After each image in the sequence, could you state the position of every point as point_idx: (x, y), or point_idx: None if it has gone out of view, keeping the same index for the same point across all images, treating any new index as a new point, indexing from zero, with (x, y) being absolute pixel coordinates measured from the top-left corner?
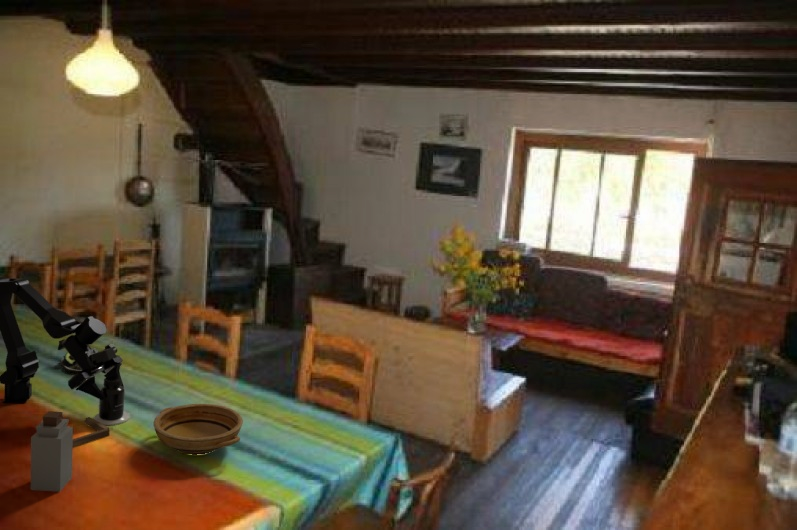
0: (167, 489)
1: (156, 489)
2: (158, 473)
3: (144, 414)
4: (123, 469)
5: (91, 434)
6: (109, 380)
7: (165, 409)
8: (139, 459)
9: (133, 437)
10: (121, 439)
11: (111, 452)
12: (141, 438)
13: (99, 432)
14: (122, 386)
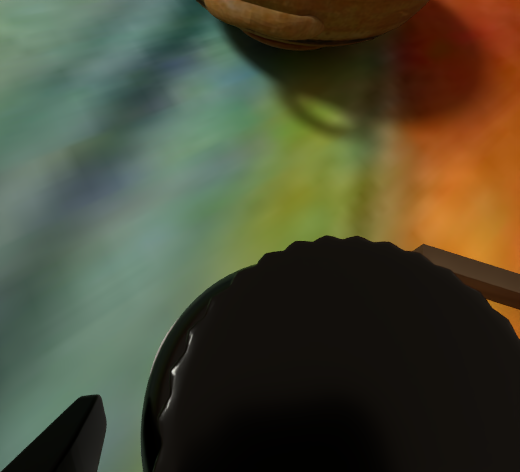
0: (477, 5)
1: (494, 18)
2: (451, 35)
3: (129, 262)
4: (504, 97)
5: (510, 279)
6: (509, 409)
7: (267, 8)
8: (441, 90)
9: (355, 171)
10: (395, 197)
11: (477, 170)
12: (343, 146)
13: (473, 262)
14: (91, 408)
